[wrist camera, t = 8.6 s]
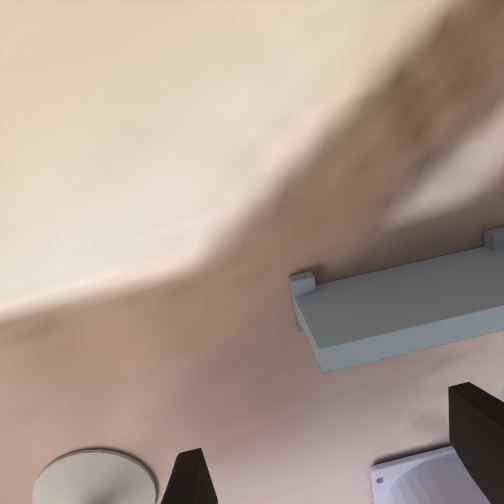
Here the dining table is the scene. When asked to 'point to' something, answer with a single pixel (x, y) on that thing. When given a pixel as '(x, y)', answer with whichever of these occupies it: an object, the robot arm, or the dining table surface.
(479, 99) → the dining table surface
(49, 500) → the wineglass
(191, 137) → the dining table surface
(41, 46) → the dining table surface
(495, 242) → the grey block with tabs
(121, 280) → the dining table surface
